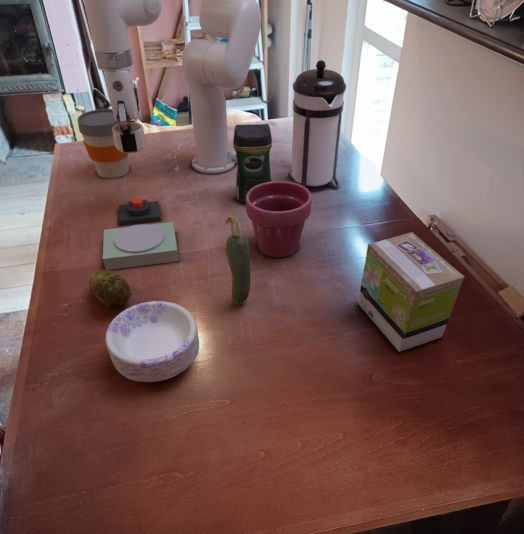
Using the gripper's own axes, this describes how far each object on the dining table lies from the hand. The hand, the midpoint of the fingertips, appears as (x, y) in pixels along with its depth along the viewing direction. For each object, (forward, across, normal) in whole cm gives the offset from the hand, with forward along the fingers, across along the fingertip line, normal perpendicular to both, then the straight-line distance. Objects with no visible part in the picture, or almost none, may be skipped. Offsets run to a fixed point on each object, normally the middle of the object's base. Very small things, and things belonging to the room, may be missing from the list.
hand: (130, 144), depth 112 cm
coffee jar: (+16, 0, -29) cm, 33 cm away
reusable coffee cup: (+16, +23, +8) cm, 29 cm away
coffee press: (+16, +6, -46) cm, 49 cm away
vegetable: (+17, -44, -19) cm, 51 cm away
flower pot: (+16, -24, -31) cm, 43 cm away
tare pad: (+16, -4, +1) cm, 17 cm away
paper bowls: (+17, -56, -2) cm, 59 cm away
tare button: (+14, -4, +1) cm, 14 cm away
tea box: (+16, -54, -48) cm, 74 cm away
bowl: (+1, 0, 0) cm, 1 cm away
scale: (+16, -20, 0) cm, 26 cm away
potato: (+17, -37, +6) cm, 41 cm away
